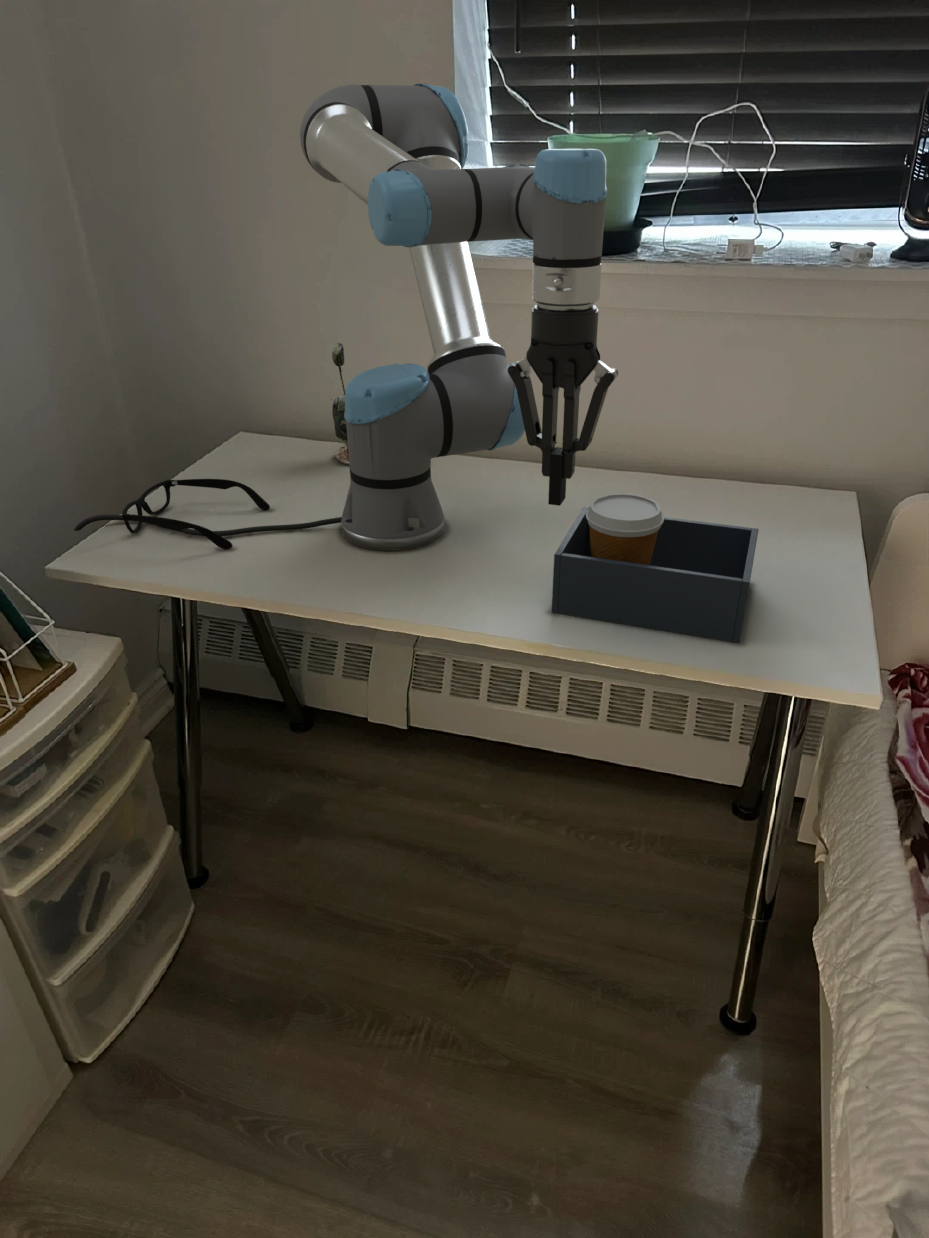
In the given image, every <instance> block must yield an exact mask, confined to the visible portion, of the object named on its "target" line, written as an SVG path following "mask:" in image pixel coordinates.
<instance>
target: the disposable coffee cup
mask: <svg viewBox="0 0 929 1238" xmlns="http://www.w3.org/2000/svg"><path fill="white" fill-rule="evenodd" d="M664 517H665V516H664V514H663V513H662V507H661V505H660V503H659V502H657V501H656V500H655V499H652V498H650V497H647V496H644V495H641V494H636V493H635V494H634V493H621V492H619V493H609V494H608V493H607V494H603V495H600V496H597V497H596V498H594V499H593V500H592V501H591V502H590V504H589V509H588V510H587V512H586V518H587V520H588V524H589V530H590V543H591V557H594V558H601V559H608V560H615V561H622V562H629V563H636V564H643V565H650V562H651V558H652V554H653V550H654V546H655V542H656V538H657V534H658V530H659V529H660V527H661V525H662V524H663V522H664Z"/></svg>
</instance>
